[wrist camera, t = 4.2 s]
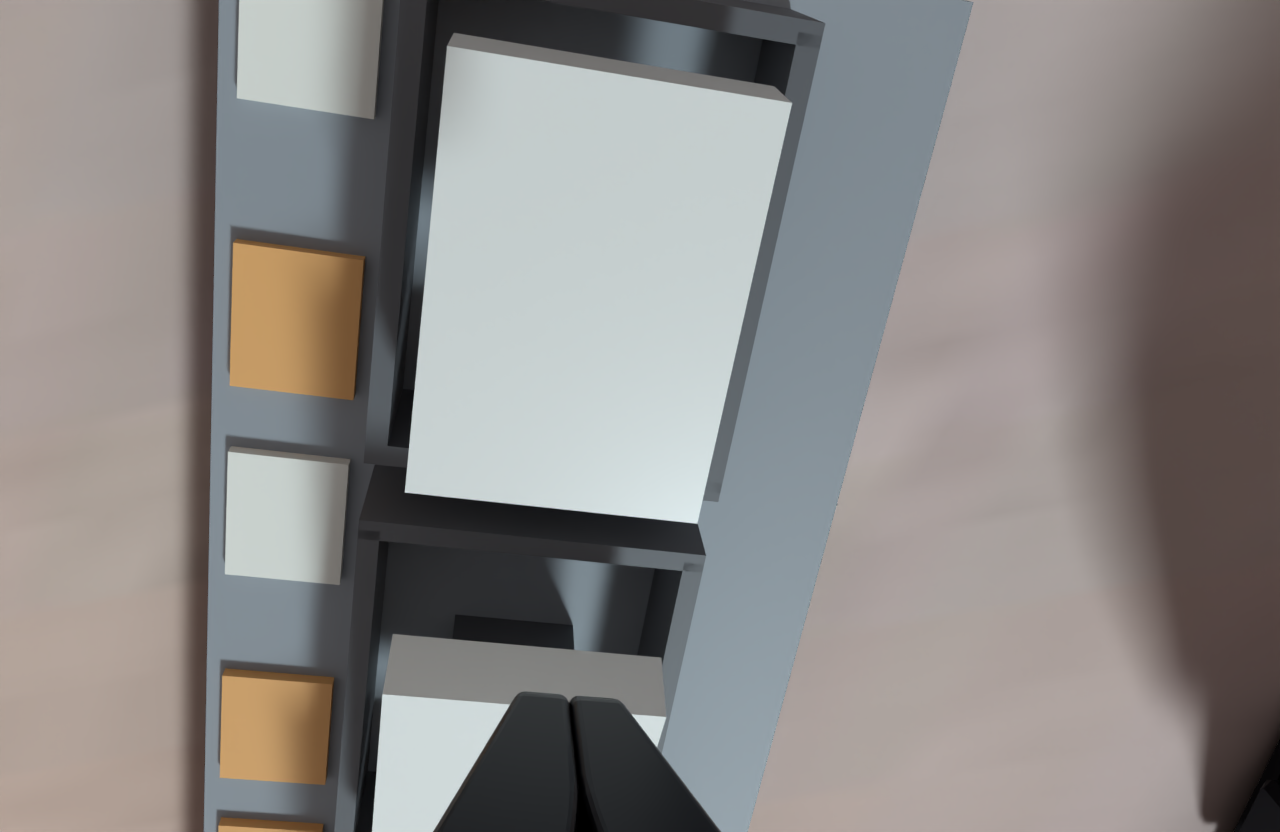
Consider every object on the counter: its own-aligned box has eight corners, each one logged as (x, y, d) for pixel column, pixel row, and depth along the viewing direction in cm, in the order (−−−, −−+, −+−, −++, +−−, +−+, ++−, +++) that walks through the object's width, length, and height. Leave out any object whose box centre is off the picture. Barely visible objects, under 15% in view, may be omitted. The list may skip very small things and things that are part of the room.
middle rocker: (661, 657, 15) (666, 717, 14) (599, 872, 18) (601, 931, 17) (392, 633, 15) (382, 694, 14) (374, 859, 18) (365, 920, 17)
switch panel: (927, -8, 17) (1048, 19, 13) (666, 1008, 26) (691, 1212, 22) (257, -132, 16) (161, -144, 12) (223, 990, 25) (162, 1205, 21)
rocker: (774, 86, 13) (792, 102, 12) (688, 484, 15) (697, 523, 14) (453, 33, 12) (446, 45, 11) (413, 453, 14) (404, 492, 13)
